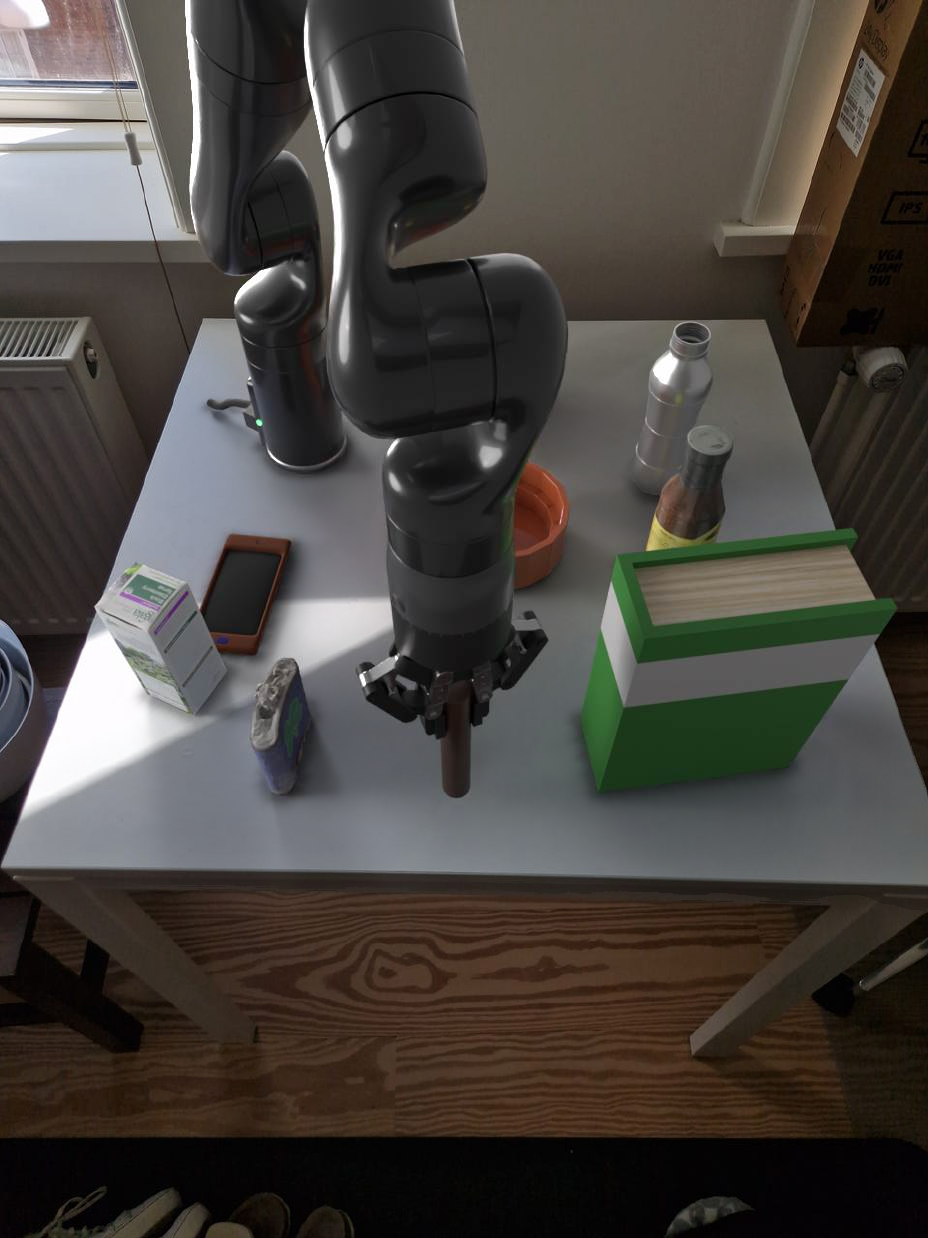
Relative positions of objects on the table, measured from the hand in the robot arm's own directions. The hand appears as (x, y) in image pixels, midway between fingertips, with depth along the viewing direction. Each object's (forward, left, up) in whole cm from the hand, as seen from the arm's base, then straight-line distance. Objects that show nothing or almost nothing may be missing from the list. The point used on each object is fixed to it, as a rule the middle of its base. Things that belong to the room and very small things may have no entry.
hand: (454, 722), depth 65 cm
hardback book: (+14, +16, -13) cm, 25 cm away
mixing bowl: (-13, +27, -13) cm, 33 cm away
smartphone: (-31, +6, -13) cm, 34 cm away
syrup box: (-28, -5, -13) cm, 32 cm away
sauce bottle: (+5, +32, -14) cm, 35 cm away
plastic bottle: (-3, +45, -13) cm, 47 cm away
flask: (-15, -5, -14) cm, 21 cm away
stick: (0, 0, -11) cm, 11 cm away
